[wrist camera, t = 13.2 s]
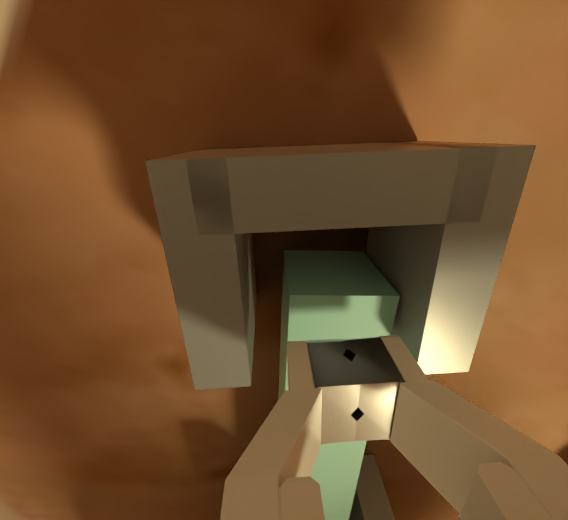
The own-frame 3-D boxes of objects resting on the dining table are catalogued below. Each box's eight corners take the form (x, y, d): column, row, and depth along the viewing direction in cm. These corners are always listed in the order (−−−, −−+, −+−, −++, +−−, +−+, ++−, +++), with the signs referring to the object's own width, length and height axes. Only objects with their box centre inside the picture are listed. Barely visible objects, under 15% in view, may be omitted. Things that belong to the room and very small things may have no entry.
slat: (283, 247, 12) (289, 295, 9) (361, 249, 12) (399, 295, 9) (274, 476, 19) (276, 559, 15) (326, 474, 19) (340, 556, 15)
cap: (199, 149, 10) (145, 160, 6) (418, 140, 10) (535, 145, 6) (221, 298, 13) (195, 390, 8) (397, 288, 13) (468, 371, 8)
